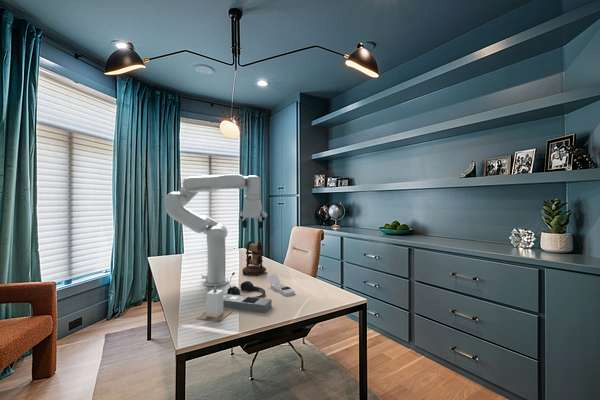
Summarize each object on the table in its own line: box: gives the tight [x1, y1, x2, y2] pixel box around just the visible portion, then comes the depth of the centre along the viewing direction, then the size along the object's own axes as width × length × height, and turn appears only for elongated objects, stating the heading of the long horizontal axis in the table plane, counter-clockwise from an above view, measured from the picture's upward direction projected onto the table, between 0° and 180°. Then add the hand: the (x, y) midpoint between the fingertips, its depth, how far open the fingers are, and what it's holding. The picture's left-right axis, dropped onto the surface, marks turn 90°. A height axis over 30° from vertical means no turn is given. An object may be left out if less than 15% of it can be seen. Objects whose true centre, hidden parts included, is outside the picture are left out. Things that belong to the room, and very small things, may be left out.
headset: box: [226, 272, 266, 298], centre depth 129 cm, size 14×10×20 cm
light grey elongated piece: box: [266, 273, 296, 297], centre depth 137 cm, size 6×6×25 cm
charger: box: [205, 286, 224, 318], centre depth 106 cm, size 5×5×11 cm
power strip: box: [223, 293, 272, 314], centre depth 115 cm, size 26×7×4 cm, turn 74°
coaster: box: [195, 309, 234, 323], centre depth 106 cm, size 10×10×1 cm
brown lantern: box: [241, 240, 267, 276], centre depth 170 cm, size 15×15×20 cm
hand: (252, 228), depth 152 cm, fingers open, 9 cm apart
